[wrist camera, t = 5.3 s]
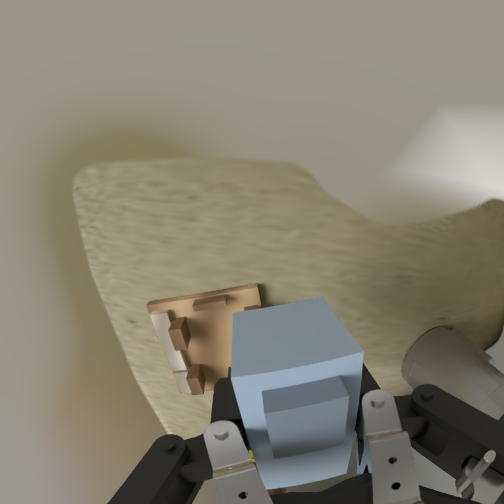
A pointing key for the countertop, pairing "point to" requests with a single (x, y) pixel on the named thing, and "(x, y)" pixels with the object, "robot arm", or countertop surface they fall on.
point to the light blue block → (296, 390)
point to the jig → (200, 334)
